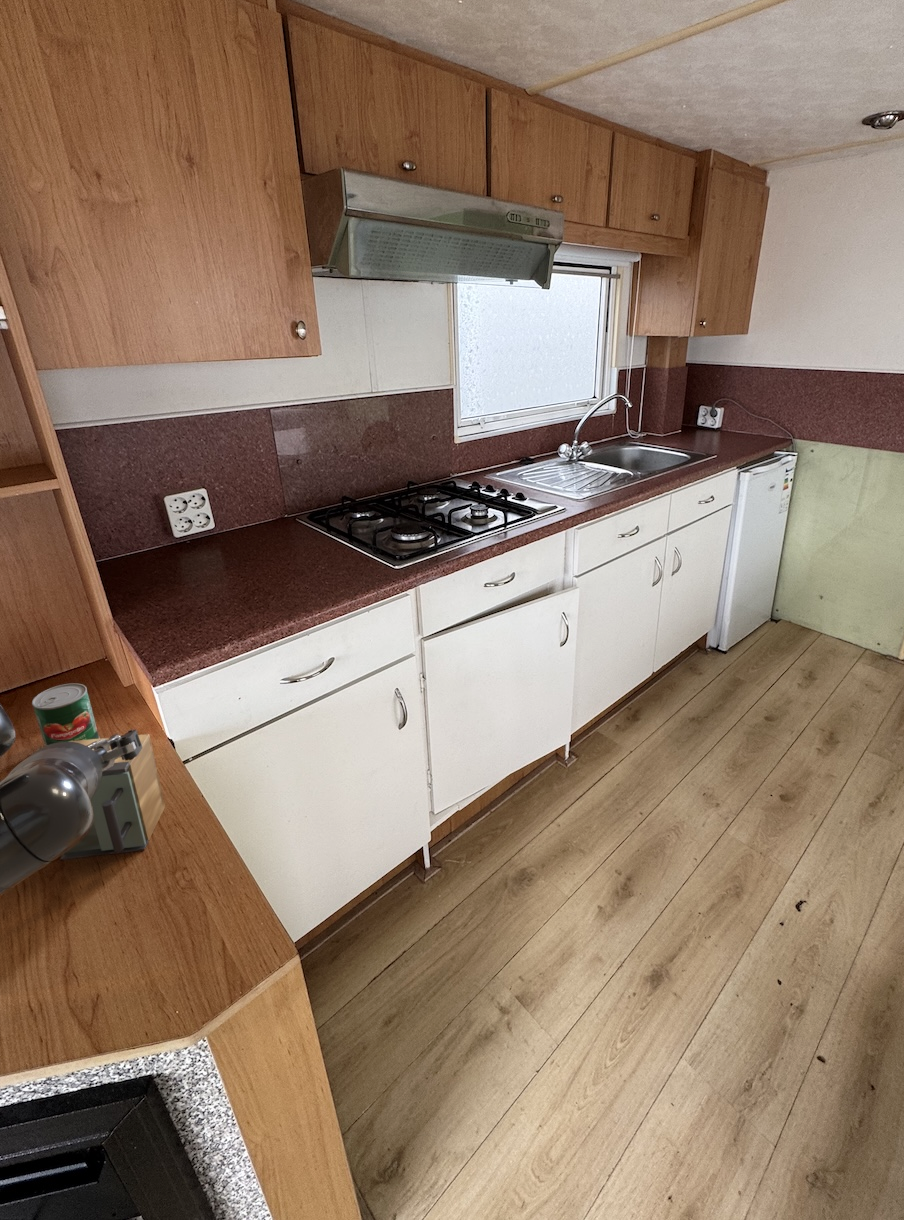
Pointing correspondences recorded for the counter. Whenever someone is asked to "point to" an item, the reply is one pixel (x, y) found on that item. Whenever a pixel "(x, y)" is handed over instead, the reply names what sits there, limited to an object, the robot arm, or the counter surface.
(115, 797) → the slide door
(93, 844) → the cabinet
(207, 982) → the counter surface
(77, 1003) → the counter surface
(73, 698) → the canned tomato
